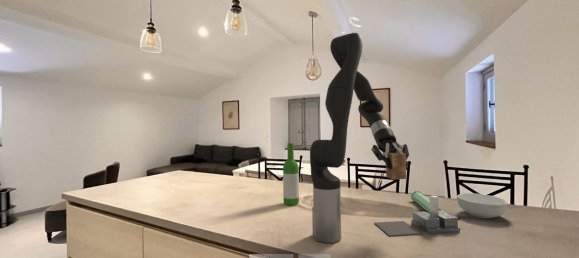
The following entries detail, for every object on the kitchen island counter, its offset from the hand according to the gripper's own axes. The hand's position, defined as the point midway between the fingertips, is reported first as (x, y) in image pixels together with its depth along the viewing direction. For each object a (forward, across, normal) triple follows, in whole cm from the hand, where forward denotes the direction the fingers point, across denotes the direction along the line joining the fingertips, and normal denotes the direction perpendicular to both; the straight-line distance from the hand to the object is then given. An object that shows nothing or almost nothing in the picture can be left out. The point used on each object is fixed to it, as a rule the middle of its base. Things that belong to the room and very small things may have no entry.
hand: (398, 167), depth 92 cm
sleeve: (+1, 0, +4) cm, 4 cm away
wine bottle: (-11, -35, +44) cm, 57 cm away
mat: (+15, 0, +17) cm, 23 cm away
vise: (+15, +16, +17) cm, 28 cm away
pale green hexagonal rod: (+1, +25, +32) cm, 40 cm away
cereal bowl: (+8, +42, +24) cm, 49 cm away
